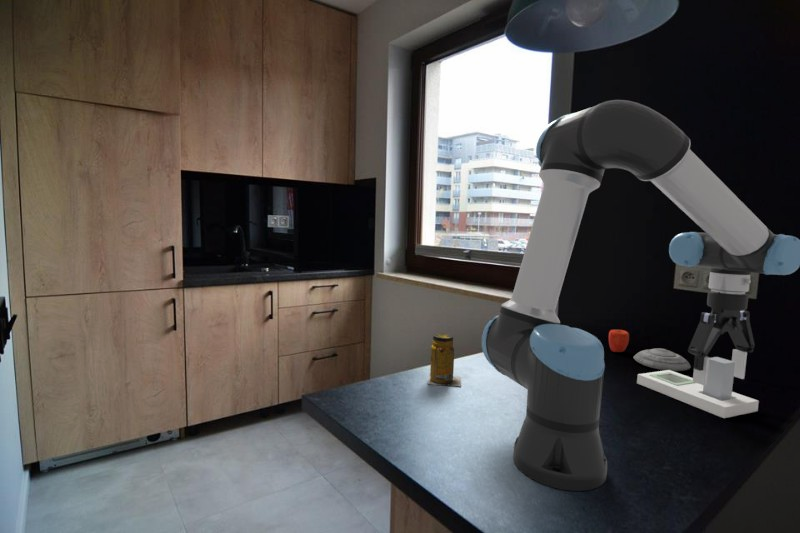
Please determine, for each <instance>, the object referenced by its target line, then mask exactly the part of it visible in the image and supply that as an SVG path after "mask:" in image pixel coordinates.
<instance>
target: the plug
mask: <svg viewBox="0 0 800 533" xmlns="http://www.w3.org/2000/svg"><path fill="white" fill-rule="evenodd" d="M734 369H735V362H734V361H732V360H730V359H726V358H723V357H719V356H713V357H709V366H708V376H707V385H705V386H704V385H703V394H704V395H707V396H710V397H712V398H715V399H718V400H721V401H724V400H729V399H731V396H732V392H733V384H734V378H735V377H734Z"/></svg>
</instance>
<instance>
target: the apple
mask: <svg viewBox="0 0 800 533" xmlns="http://www.w3.org/2000/svg"><path fill="white" fill-rule="evenodd" d="M629 341H630V333H629V332H628V331H626V330H623V329H610V330H609V332H608V345H609V348H610V350H611V352H613V353H623V352H625V351H626V348H627V346H628V345H629Z"/></svg>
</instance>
